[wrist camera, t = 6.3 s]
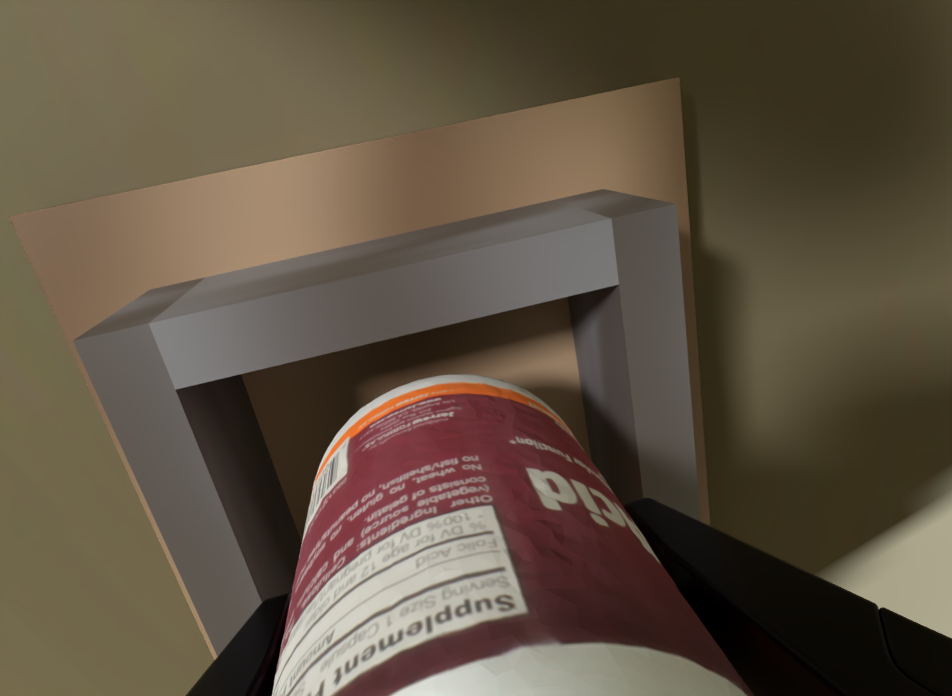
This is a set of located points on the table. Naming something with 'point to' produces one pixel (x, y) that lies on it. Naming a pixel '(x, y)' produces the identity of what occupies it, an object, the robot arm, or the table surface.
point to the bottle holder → (381, 316)
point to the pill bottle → (481, 563)
